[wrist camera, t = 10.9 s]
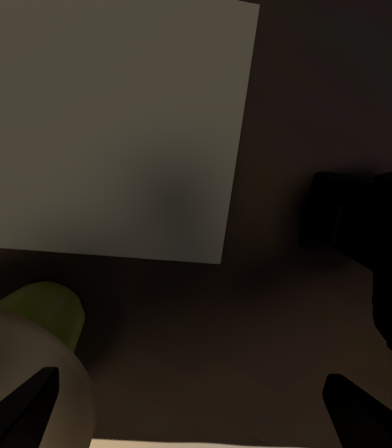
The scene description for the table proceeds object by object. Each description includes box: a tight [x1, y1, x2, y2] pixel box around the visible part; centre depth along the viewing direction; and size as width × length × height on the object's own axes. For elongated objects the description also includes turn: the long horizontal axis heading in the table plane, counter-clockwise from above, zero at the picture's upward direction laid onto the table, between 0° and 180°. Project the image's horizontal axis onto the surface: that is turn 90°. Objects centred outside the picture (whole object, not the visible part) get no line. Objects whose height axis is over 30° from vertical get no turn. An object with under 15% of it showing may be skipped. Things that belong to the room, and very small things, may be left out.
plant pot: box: [0, 281, 85, 353], centre depth 17 cm, size 9×9×9 cm
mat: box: [0, 0, 260, 264], centre depth 18 cm, size 18×18×1 cm
